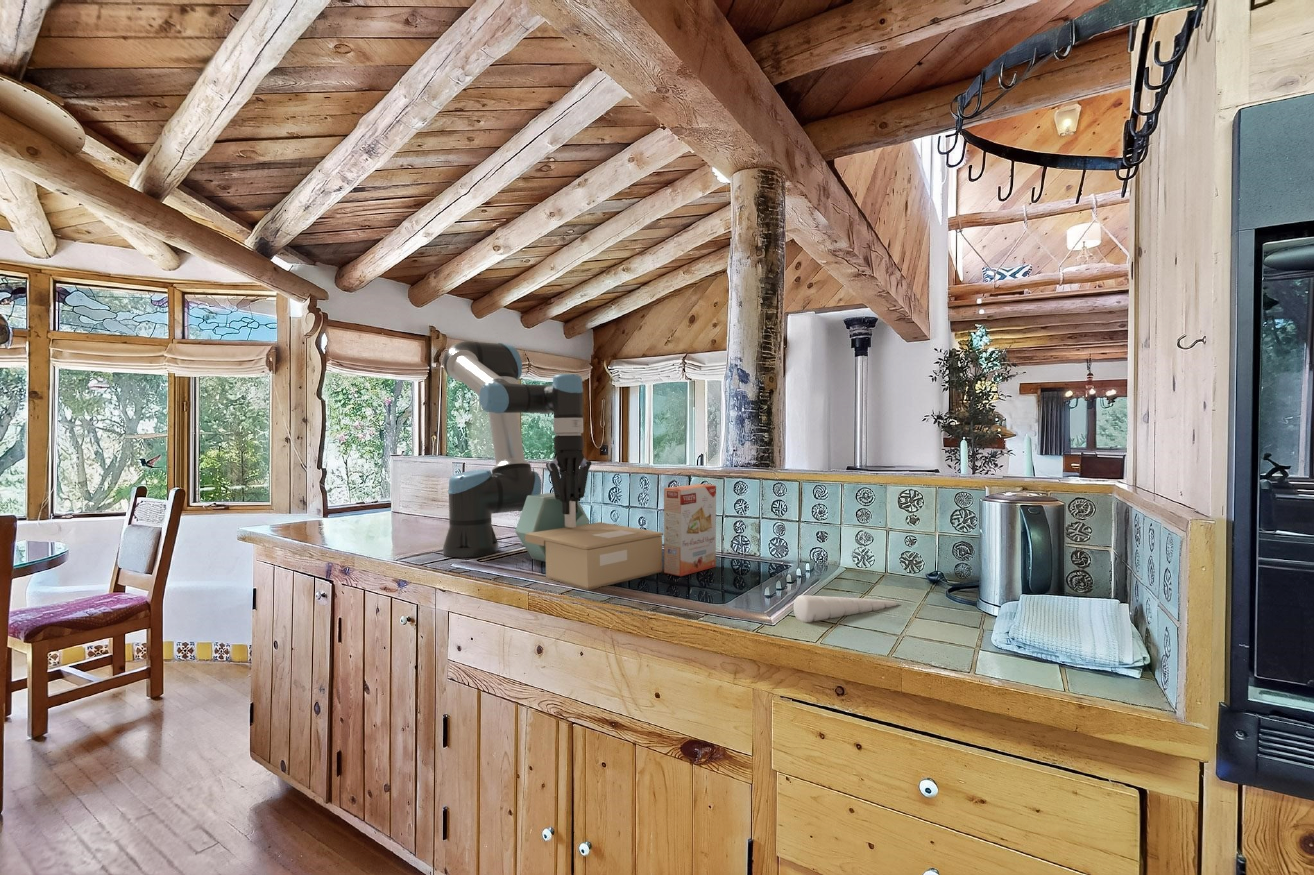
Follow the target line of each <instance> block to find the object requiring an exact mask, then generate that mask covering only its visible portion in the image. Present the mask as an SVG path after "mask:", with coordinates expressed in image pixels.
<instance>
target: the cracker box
mask: <svg viewBox="0 0 1314 875" xmlns="http://www.w3.org/2000/svg"><path fill="white" fill-rule="evenodd" d="M716 534H717V486H716V485H714V484H705V483H704V484H703V483H701V484H700V483H699V484H690V485H681V486H672V487H671V486H670V487H664V488H663V573H664V574H668V575H672V576H676V577H684V576H688V575H690V574H694V573H698V572H702V571H705V570H708V569H711V568H712V569H713V568H715V567H717V566H716V564H717V562H716V561H717V559H716V557H717V556H716V554H717V552H716V551H717V548H716V547H717V542H716V541H717V535H716Z"/></svg>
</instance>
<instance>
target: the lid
mask: <svg viewBox="0 0 1314 875" xmlns="http://www.w3.org/2000/svg"><path fill="white" fill-rule="evenodd" d="M657 536H662V537H663V536H664V532H661V531H656V530H655V531H654V530H648V529H643V528H637V527H632V526H631V527H630V526H625V525H619V524H612V523H606V522H601V521H599V522H592V523H589V524H585V525H578V526H576V527H572V528H571V527H565V528H559V529H552V530H545V531H539V532H532V533H525V542H529V543H533V544H537V545H542V546H546V543H545V541H550V542H554V543H559V544H563V545H568V546H572V547H577V548H581V549H586V550H587V549H593V548H598V547H603V546H609V545H614V544H619V543H625V542H630V541H635V540H641V539H646V538H651V537H657Z"/></svg>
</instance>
